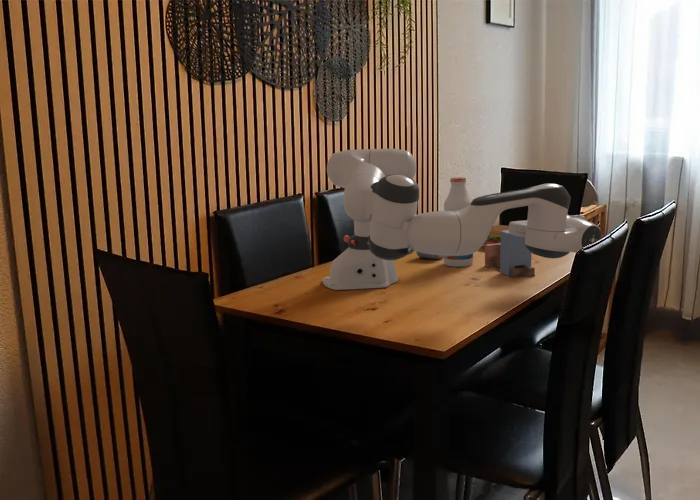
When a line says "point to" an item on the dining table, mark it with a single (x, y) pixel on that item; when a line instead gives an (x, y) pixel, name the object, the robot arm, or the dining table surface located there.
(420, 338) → the dining table surface
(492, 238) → the food
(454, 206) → the fruit juice
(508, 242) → the block
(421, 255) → the ceramic mug
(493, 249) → the rail
